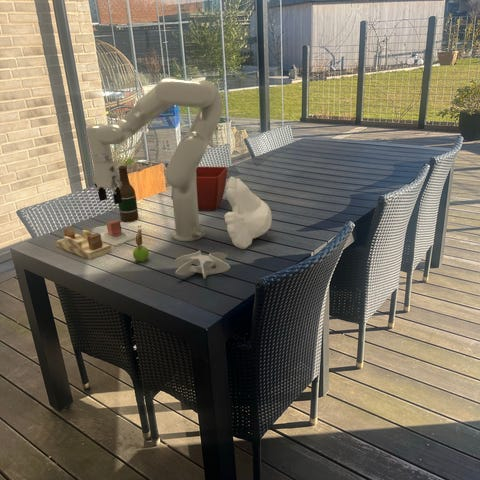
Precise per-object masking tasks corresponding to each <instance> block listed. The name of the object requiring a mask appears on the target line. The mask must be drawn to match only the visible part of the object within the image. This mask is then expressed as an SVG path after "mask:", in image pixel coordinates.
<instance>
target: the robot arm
mask: <svg viewBox="0 0 480 480" xmlns="http://www.w3.org/2000/svg"><path fill="white" fill-rule="evenodd" d="M171 106H179V107H185V108H186V107H188V108H194V109H197V112H196V114H195V117H194V118H193V121H192V123H191V125H190V127H189V129H188V131H187V133H185V135H184V136H183V137H182V138H181V140H180V141H179V143H178V145H177V146H176V149H175V151H174V153H173V155H172V157H171V159H170V161H169V163H168V165H167V167H166V169H165V173H164V174H165V180H166V182H167V184H168V185H169V186H171V196H172V207H173V215H174V216H173V217H174V226H175V231H174V232H172V234H171V235H172V238H173V240H175V241H178V242H194V241H197V240H201V238H204V236H205V234H206V232H207V231H206V230H205V229H202V225H201V224H200V215H199V214H200V213H199V210H198V200H197V185H196V169H197V167H199V165H200V163H201V161H202V160H203V158H204V156H205V154H206V152H207V150H208V146H209V143H210V142H211V140H212V137H213V136H214V133H215V131H216V130H217V128H218V126H219V125H218V124H219V122H220V120H221V117H222V114H223V98H222V95H221V93H220V91H219V90H218V88H217V86H216V85H215V84H214V83H213V82H211V81H209V80H204V79H203V80H199V81H191V80H183V79H182V80H181V79H178V78H177V77H175V76H167V77H163V78H161V79H160V80H159V81H158V82H157V83H156V85H155V86H154V87H152V88H151V89H150V90H149V91H148V92H147V93H146V94H144V95H143V96H142V97H140V98H139V99H138V100H137V101H136V104H135V105H134V107H132V109H131V110H129V111H128V112H127V113H126V114H124V115H123V116H122V117H121V118H120V119H118V120H117V121H115V122H113V123H109V124H107V125H106V124H104V123H98V124H97V123H96V124H91V125H88V126H87V127H86V128H85V129H86V136H87V140H88V146H89V151H90V156H91V161H92V165H93V174H94V177H93V178H92V181H93V184H94V187H95V188H96V191H97V194H98V199H99V201H100V202H103V201H106V200H108V197H107V191H106V190H107V189H109V190H111V191H112V193H113V194H112V196H113V197H112V198H113V202H114V205H119V204H118V203H121V202H122V197H121V190H122V182H121V181H120V175H119V170H118V168H117V165H116V163H115V160H114V157H113V152H112V147H111V145H113V146H114V145H115V146H117V145H120V144H122V143H124V142H125V141H127V140H129V139H130V138H131V137H132V136H134V135H135V134H136V133H138V132H139V131H140V130H141V129H142V128H144V127H145V126H146V125H148V124H149V123H151V122H153V121H154V120H155V119H157V117H159V116H160V115H161V114H162V113H164V112H166V110H167V109H169V108H170V107H171Z"/></svg>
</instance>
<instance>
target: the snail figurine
mask: <svg viewBox="0 0 480 480" xmlns="http://www.w3.org/2000/svg"><path fill="white" fill-rule="evenodd" d="M137 227H138V229H137V233H136V235H135V236H136V239H135V243H136V245H137V246H136V247H135V248H134V249H133V251H132V252H133V253H132V256H133V259H135V260H136V261H137V262H144V261H146V260H147V259H148V258H149V256H150V255H149V254H150V253H149V250H148V248H147V247H145V246H143V234H142V231H143V230H142V229H141V227H142V225H137ZM139 227H140V228H139Z"/></svg>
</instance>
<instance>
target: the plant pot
mask: <svg viewBox="0 0 480 480" xmlns="http://www.w3.org/2000/svg"><path fill="white" fill-rule="evenodd" d="M227 173H228V167H227V166H198V167H197V169H196V185H197V200H198V211H217V209H218V208H219V206H220V205H221V204H222V202H223V198H224V194H225V191H226V183H227V175H228V174H227Z"/></svg>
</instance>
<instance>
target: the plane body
mask: <svg viewBox="0 0 480 480" xmlns="http://www.w3.org/2000/svg"><path fill="white" fill-rule="evenodd" d="M63 233H64V234H63V235H64V236H63V238H61V239H58V240H56V244H57V245H56V246H57V248H58V249H59V248H60V249H62V250H65V251H67V252H69V253H72V254H74V255H78V256H79V257H82V258H85V259H87V260H90V261H91V260H94V259H96V258H99V257H102V256H103V255H104V256H105V255H107V254H109V253H112V245H109V244H106V243H103V242H102V240H101V233H98V232H92V231H89V230H87V229H82V232H81V233H82V235H80V234H78V233H75V229H74V227H66V228H64V229H63Z"/></svg>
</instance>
